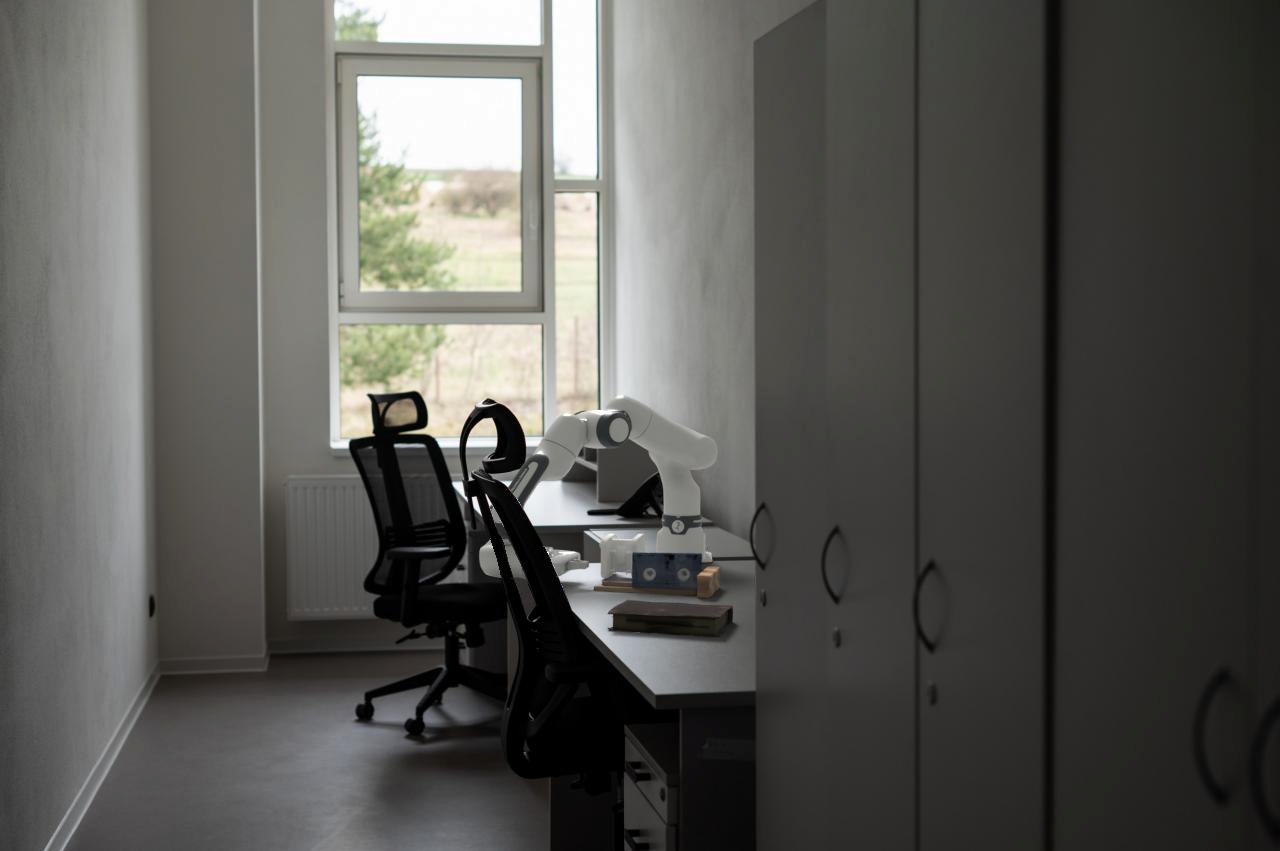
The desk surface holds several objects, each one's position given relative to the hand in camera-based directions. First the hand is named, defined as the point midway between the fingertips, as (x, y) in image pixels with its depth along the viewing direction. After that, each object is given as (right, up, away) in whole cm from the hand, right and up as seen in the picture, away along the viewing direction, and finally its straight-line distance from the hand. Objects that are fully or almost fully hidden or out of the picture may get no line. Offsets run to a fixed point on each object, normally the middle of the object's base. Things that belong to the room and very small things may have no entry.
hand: (587, 565), depth 335 cm
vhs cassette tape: (+21, -6, -4) cm, 22 cm away
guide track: (+18, -6, -4) cm, 19 cm away
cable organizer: (+9, -5, +17) cm, 20 cm away
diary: (+21, -9, -51) cm, 56 cm away
